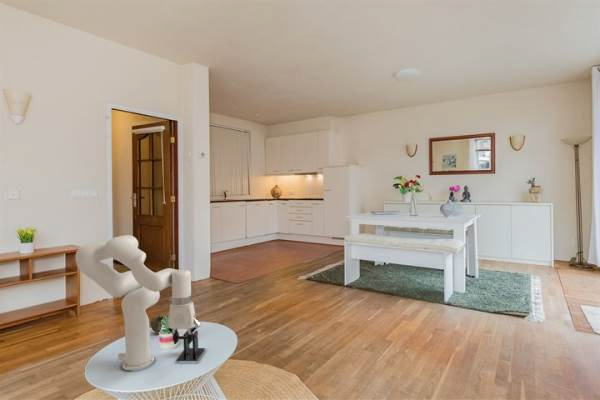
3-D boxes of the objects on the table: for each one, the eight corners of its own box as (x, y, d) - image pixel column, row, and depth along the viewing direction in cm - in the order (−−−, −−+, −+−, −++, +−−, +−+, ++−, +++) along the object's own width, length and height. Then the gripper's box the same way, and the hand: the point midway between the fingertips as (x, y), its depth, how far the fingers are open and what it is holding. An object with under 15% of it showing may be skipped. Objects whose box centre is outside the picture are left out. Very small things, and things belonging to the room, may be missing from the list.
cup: (147, 335, 175) (146, 319, 175) (158, 329, 181) (158, 315, 181) (157, 337, 172) (157, 322, 171) (169, 332, 178) (168, 317, 178)
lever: (187, 340, 141) (188, 334, 142) (175, 340, 141) (176, 334, 142) (197, 339, 152) (197, 333, 153) (186, 339, 152) (186, 333, 153)
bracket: (197, 362, 146) (196, 338, 146) (176, 362, 146) (175, 338, 146) (205, 350, 157) (204, 327, 157) (185, 350, 157) (185, 327, 157)
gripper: (157, 303, 138) (159, 346, 139) (199, 303, 138) (200, 347, 138) (165, 297, 146) (166, 338, 146) (204, 297, 145) (205, 338, 146)
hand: (183, 342), depth 142 cm, fingers closed on lever, 5 cm apart
